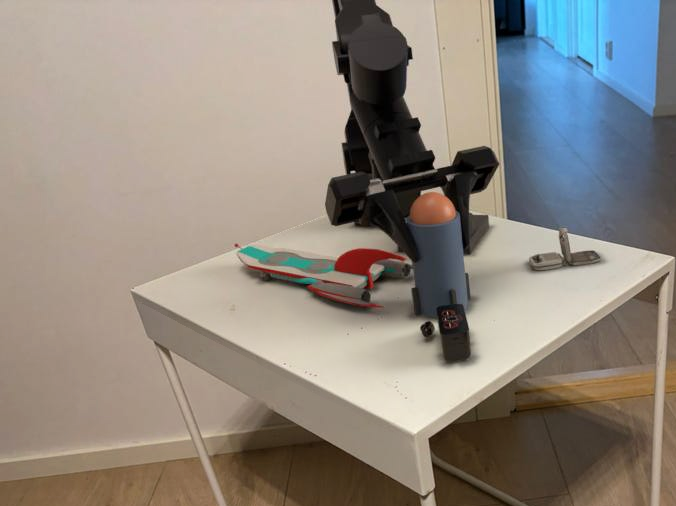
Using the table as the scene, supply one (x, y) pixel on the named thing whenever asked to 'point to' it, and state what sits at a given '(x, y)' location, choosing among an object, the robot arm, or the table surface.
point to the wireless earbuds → (451, 332)
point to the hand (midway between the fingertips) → (442, 253)
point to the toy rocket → (437, 255)
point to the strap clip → (556, 259)
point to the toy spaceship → (327, 270)
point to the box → (474, 231)
